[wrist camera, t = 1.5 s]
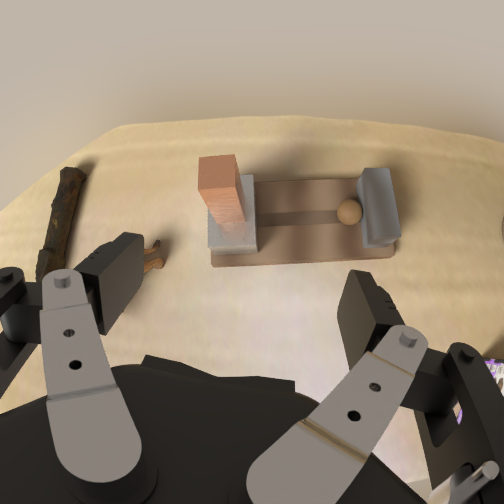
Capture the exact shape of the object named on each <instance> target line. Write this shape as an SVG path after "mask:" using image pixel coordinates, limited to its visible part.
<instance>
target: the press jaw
mask: <svg viewBox="0 0 504 504" xmlns="http://www.w3.org/2000/svg"><path fill="white" fill-rule="evenodd" d="M198 191H199V193H200V194H201V196H202V198H203V200H204V201H205V203H206V205H207V207H208V248H209V249H210V250H211V251H212V253H213V254H214V255H231V254H250V253H258V241H257V218H256V195H255V184H254V177H253V174H250V175H240V174H239V170H238V166H237V162H236V158H235V154H232V155H220V156H209V157H199V173H198Z"/></svg>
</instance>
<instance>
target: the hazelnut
mask: <svg viewBox="0 0 504 504" xmlns="http://www.w3.org/2000/svg"><path fill="white" fill-rule="evenodd" d="M337 215H338V218H339V220H340V221H341V222H342V223H344V224H346V225H354V224H356V223H358V222H359V221H360V219H361V217H362V208H361V206H360V204H359V203H358V202H356V201H354V200H350V199H349V200H345V201H343V202H341V203H340V205H339V206H338V209H337Z"/></svg>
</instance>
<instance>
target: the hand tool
mask: <svg viewBox="0 0 504 504" xmlns="http://www.w3.org/2000/svg"><path fill="white" fill-rule="evenodd" d="M86 176H87V175H86V174H84V173H83V172H82V171H81V170H80V169H78V168H73V167H65V168H63V169H62V170H61V171H60V183H59V186H58V190H57V194H56V197H55V198H54V200H53V203H52V204H51V207H52V212H51V216H50V221H49V225H48V230H47V234H46V239H45V244H44V246H43V249H42V250H39V254H38V262H37V265H36V278H35V279H36V282H39V283H42V280H43V278H44V277H45V276H46V275H47V274H48V273H50V272H52V271H55V270H59V269H63V268H64V265H65V259H64V251H65V245H66V242H67V238H68V234H69V231H70V224H71V220H72V216H73V212H74V210H75V205H76V203H77V197H78V193H79V189H80V185H81V182H82V181H83V180H84V179H86Z"/></svg>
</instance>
